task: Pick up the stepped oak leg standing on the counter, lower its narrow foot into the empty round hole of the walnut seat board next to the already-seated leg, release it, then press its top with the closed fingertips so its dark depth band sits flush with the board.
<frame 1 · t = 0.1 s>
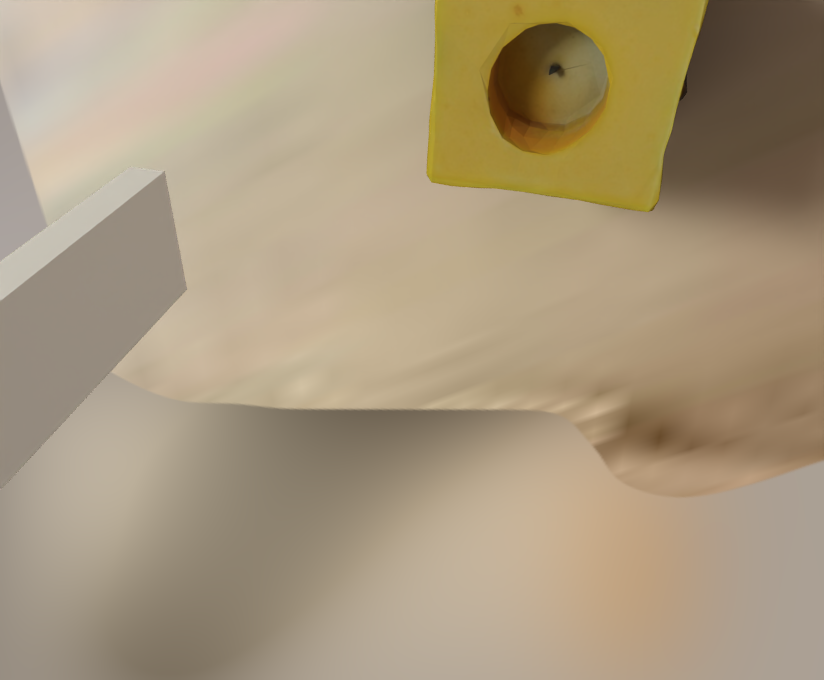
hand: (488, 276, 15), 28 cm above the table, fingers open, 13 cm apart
black and yellow cube: (578, 19, 38), on the table
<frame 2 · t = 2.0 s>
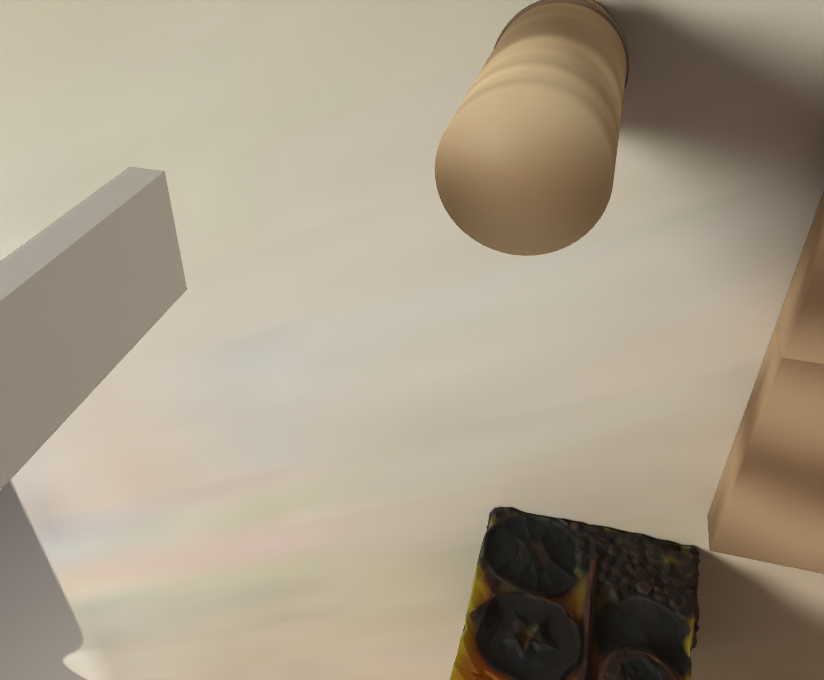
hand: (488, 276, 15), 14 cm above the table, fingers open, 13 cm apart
oak leg: (565, 50, 25), on the table
black and yellow cube: (576, 580, 41), on the table
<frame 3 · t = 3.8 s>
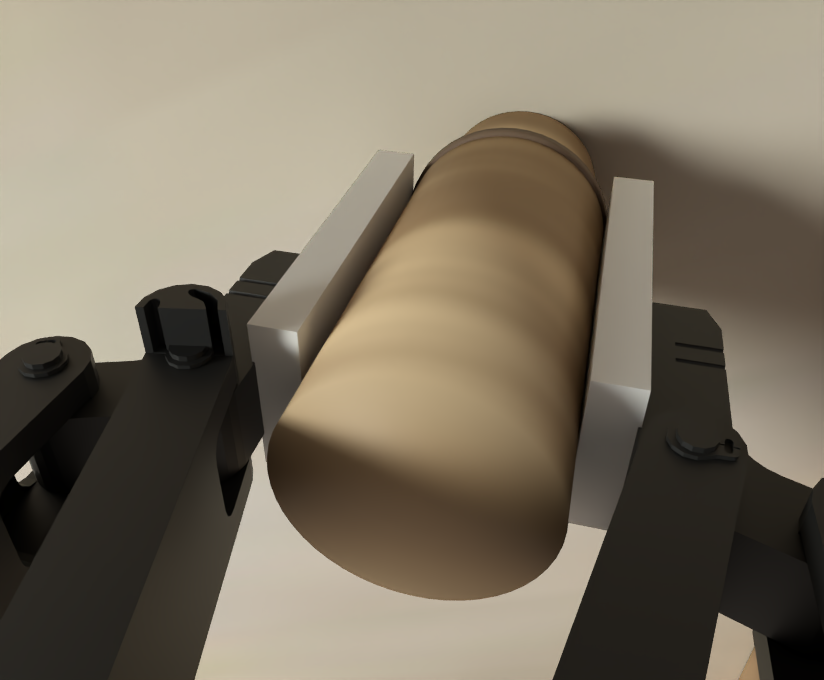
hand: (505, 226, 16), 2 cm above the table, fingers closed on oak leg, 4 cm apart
oak leg: (519, 183, 18), on the table, touching gripper
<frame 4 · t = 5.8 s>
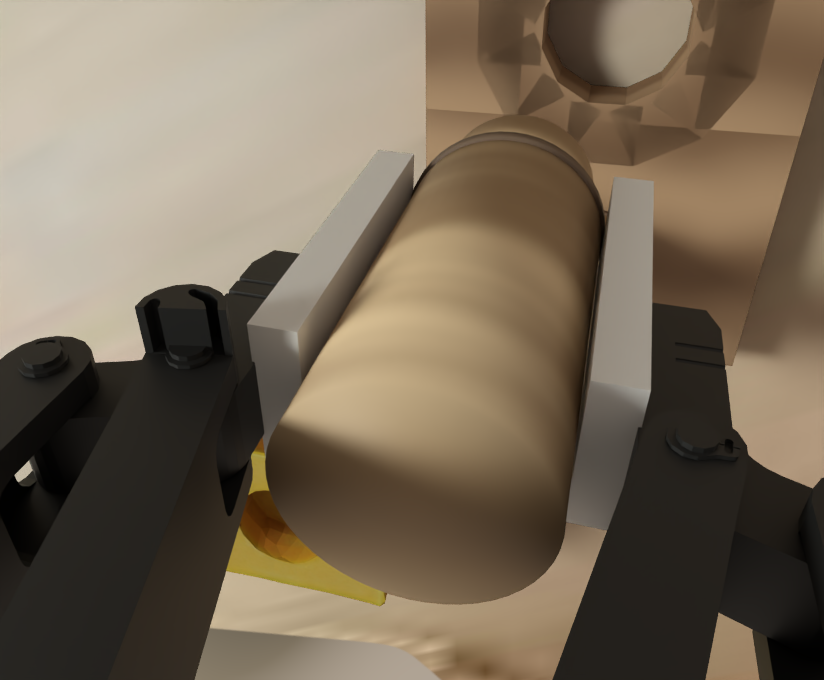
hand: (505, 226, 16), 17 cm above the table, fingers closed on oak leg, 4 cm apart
oak leg: (518, 187, 18), point 15 cm above the table, touching gripper
seat board: (607, 96, 31), on the table
black and yellow cube: (352, 390, 44), on the table
when the fingers open (3 cm above the table, at t = 8.3 s): oak leg stays where it is, resting in seat board.
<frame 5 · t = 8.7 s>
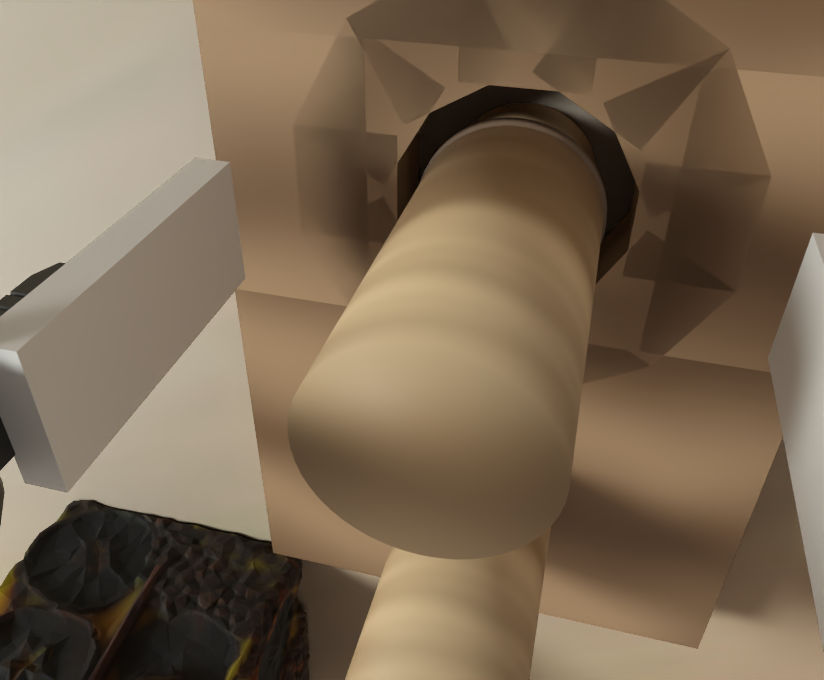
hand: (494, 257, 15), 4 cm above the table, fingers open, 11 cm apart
oak leg: (523, 173, 18), resting in seat board
seat board: (513, 278, 20), on the table
black and yellow cube: (201, 590, 33), on the table
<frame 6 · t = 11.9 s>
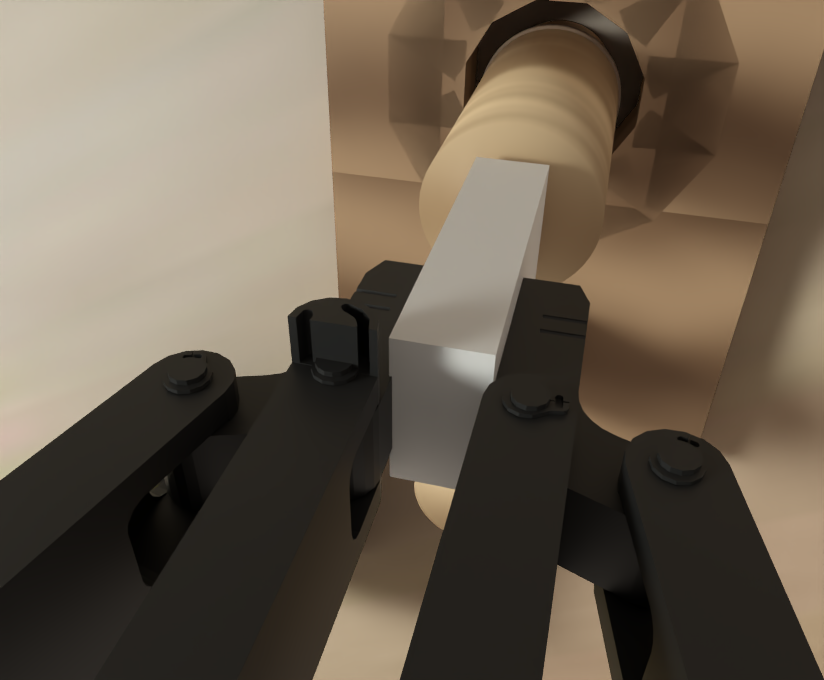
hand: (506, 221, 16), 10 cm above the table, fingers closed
oak leg: (556, 76, 25), resting in seat board
seat board: (546, 163, 26), on the table
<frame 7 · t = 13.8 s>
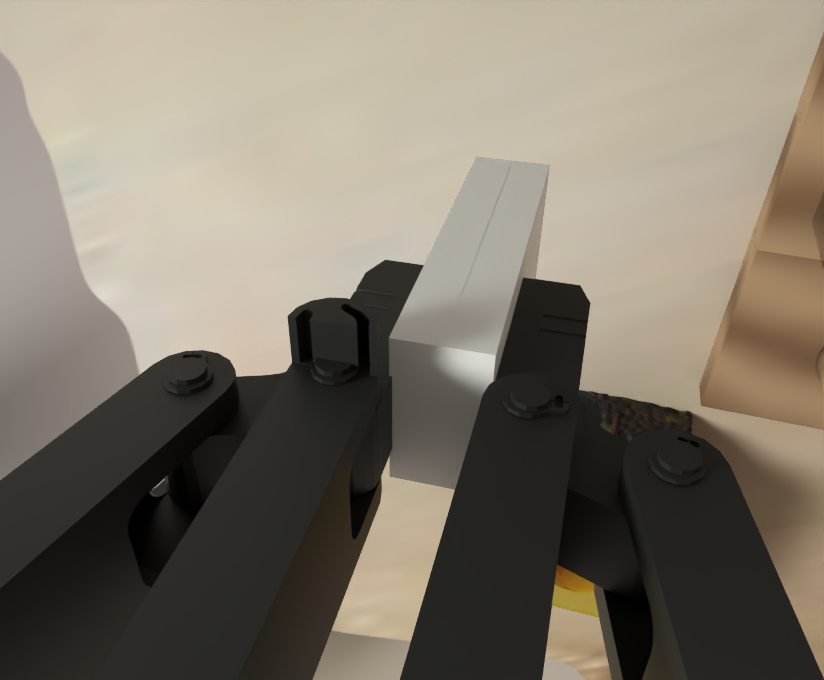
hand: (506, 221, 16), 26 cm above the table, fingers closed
black and yellow cube: (597, 447, 53), on the table
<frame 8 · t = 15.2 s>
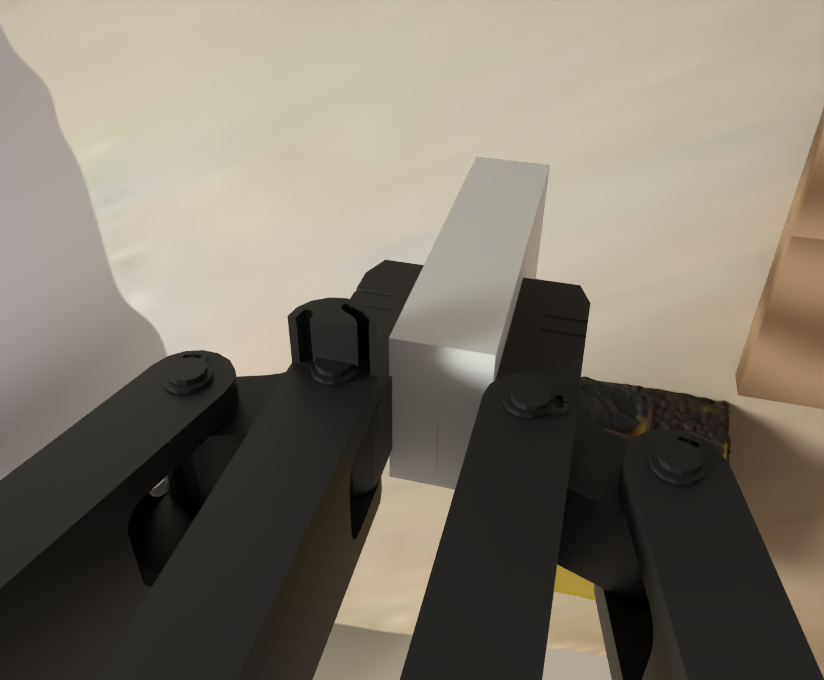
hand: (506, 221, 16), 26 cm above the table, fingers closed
black and yellow cube: (632, 439, 53), on the table
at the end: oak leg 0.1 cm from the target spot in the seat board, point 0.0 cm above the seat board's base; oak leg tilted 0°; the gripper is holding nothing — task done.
